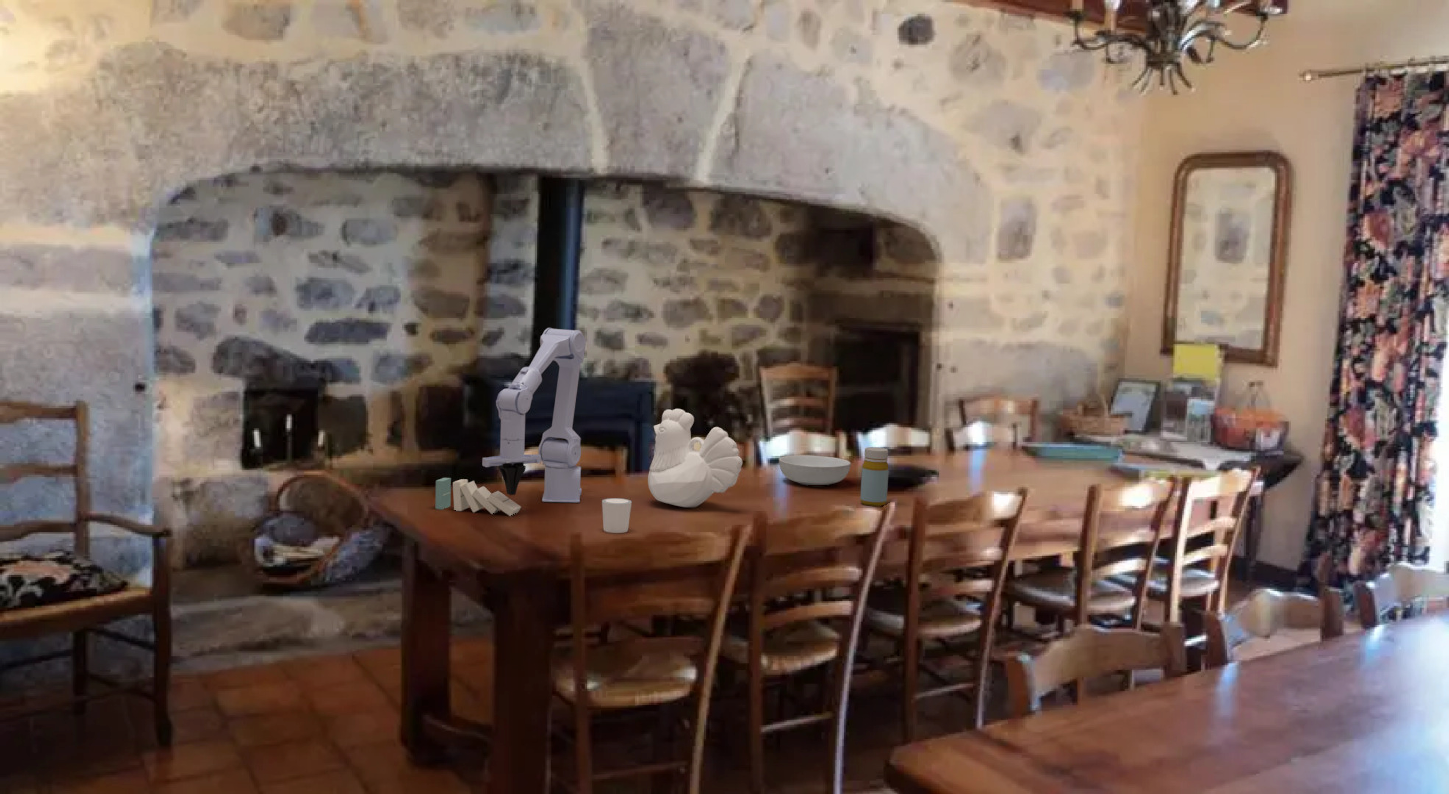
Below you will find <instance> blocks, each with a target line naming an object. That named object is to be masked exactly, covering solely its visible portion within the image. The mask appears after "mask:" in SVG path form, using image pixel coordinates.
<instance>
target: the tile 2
mask: <svg viewBox="0 0 1449 794" xmlns="http://www.w3.org/2000/svg"><path fill="white" fill-rule="evenodd" d="M467 483H469V480H468V479H464V478H463V479H462V478H461V479H459V480H455V481H453V482H452V492H453V511H454V510H456V511H455V512H462V511H464V510H467V509H468V508H470V506H469V504H468V502H467V500H466V498H465V496H464V494H463V492H462V490H461V488H460V487H461V486H463V485H465V484H467Z"/></svg>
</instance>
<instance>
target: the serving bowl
mask: <svg viewBox="0 0 1449 794" xmlns="http://www.w3.org/2000/svg"><path fill="white" fill-rule="evenodd" d="M778 463H779V464H778V465H779V470H780V472H781V473H782V474H783V476H785V478H787V479H788V480H790V481H793V482H795V483H798V484H800V485H802V486H808V485H827V486H829V485H832V484H837V483H839V482H841V481H843V480H844V479H845V478H846V477H847V476H848V474H849V472H850V468H851V464H852V463H851V462H850V461H849V460H846V459H843V458H839V457H832V456H822V455H811V454H810V455H806V454H803V455H800V454H797V455H796V454H795V455H784V456H782V457H781V456H780V457H779V459H778Z"/></svg>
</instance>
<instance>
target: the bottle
mask: <svg viewBox="0 0 1449 794" xmlns="http://www.w3.org/2000/svg"><path fill="white" fill-rule="evenodd" d="M863 458H864V460H863V463H862V469H861V481H860V483H861V484H860V503H861V504H862V505H865V506H868V507H882V506H881V505H884V504H885V503H886V504H887V500H888V487H889V486H888V483H889V464H888V458H889V450H888V449H887V448H884V447H877V446H876V447H873V446H871V447H870V446H868V447H865V448H864V457H863ZM886 504H885V505H886ZM885 505H884V506H885Z"/></svg>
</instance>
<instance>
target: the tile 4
mask: <svg viewBox="0 0 1449 794" xmlns="http://www.w3.org/2000/svg"><path fill="white" fill-rule="evenodd" d="M477 488H478V489H476V490H475V491H474V492H473V493H472V496H473V497H474V498H476V499H477V500H478V501H479V502H480V503H481V504H482V505H483V506H484V508H485V509H486V510H487V511H488V512H489V513H490V514H491V515H494V514H496V513H498V511H499V512H500V511H502V510H501V509H499V508H498V507H496V506H495V505H493V504H492V503H491V502H489V501H488V498H489V496H490V494H492V493H491V491H489V490H488V489H487V488H486V487H485V486H484V485H483V486H481V487H477ZM493 513H494V514H493Z"/></svg>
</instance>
